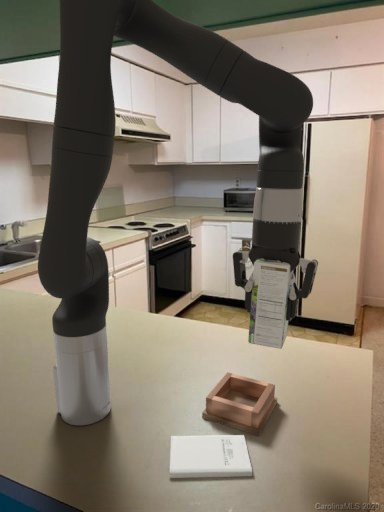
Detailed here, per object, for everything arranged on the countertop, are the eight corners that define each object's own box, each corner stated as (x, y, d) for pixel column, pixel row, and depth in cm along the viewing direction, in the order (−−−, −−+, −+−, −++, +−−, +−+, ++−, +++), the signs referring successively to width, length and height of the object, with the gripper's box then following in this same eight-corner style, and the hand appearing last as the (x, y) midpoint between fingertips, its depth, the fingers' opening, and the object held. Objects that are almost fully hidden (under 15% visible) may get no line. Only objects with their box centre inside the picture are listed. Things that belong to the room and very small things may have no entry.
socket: (202, 417, 71) (202, 398, 70) (225, 387, 81) (226, 370, 80) (259, 436, 66) (260, 415, 65) (277, 402, 76) (278, 384, 75)
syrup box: (255, 330, 70) (260, 253, 67) (288, 336, 68) (295, 256, 64) (247, 343, 65) (252, 260, 61) (283, 350, 63) (290, 264, 59)
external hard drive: (171, 443, 66) (243, 441, 66) (169, 481, 58) (252, 479, 58) (171, 434, 65) (244, 433, 66) (169, 472, 57) (252, 470, 58)
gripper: (226, 215, 62) (222, 314, 65) (318, 223, 55) (308, 332, 59) (243, 211, 68) (238, 301, 72) (328, 217, 61) (318, 316, 65)
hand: (270, 314), depth 65 cm, fingers closed on syrup box, 6 cm apart
